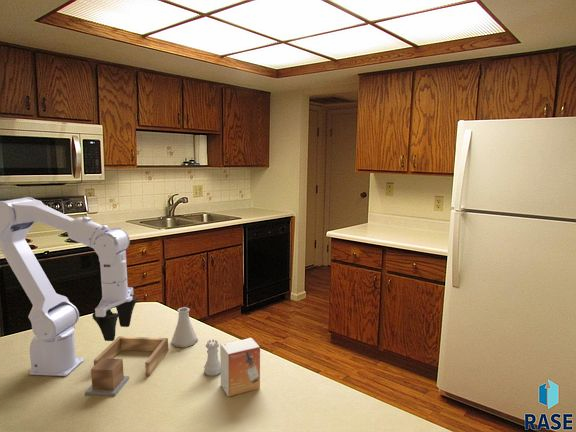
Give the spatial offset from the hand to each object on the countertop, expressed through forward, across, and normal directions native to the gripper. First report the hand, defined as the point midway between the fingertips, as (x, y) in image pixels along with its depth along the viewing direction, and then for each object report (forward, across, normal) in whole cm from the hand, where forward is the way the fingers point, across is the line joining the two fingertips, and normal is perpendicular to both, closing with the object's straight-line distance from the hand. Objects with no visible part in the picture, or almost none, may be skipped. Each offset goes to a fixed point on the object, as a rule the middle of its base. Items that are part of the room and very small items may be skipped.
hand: (117, 333), depth 98 cm
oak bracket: (+10, +5, -1) cm, 12 cm away
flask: (+11, +17, -11) cm, 23 cm away
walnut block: (+10, -6, 0) cm, 11 cm away
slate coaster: (+10, -6, 0) cm, 12 cm away
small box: (+11, -3, -31) cm, 33 cm away
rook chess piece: (+11, +2, -23) cm, 25 cm away
